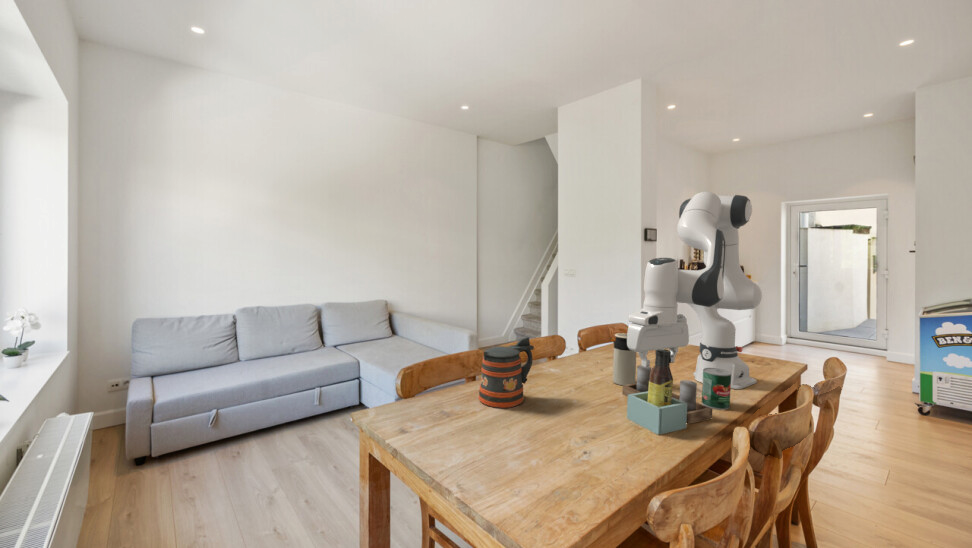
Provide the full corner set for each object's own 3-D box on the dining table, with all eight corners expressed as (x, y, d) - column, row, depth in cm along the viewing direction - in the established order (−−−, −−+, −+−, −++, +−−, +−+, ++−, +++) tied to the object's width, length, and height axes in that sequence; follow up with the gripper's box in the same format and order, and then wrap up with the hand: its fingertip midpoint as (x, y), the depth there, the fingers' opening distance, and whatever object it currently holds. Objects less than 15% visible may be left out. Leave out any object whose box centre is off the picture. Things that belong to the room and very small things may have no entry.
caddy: (653, 412, 121) (654, 390, 121) (686, 428, 111) (687, 403, 110) (626, 418, 117) (627, 394, 117) (658, 434, 106) (659, 409, 106)
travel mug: (612, 385, 146) (614, 336, 145) (612, 378, 154) (614, 332, 153) (635, 387, 144) (637, 338, 143) (634, 380, 152) (636, 333, 151)
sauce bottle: (666, 425, 110) (672, 354, 109) (643, 419, 114) (648, 349, 113) (672, 418, 115) (677, 350, 114) (649, 412, 119) (654, 346, 118)
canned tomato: (724, 411, 123) (725, 376, 122) (697, 404, 129) (698, 370, 128) (733, 405, 128) (735, 371, 127) (707, 398, 134) (709, 366, 133)
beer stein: (516, 387, 143) (517, 331, 142) (543, 400, 130) (544, 339, 129) (470, 397, 133) (471, 337, 131) (494, 412, 120) (495, 346, 119)
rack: (644, 390, 141) (645, 362, 141) (712, 418, 117) (713, 385, 117) (622, 393, 137) (623, 365, 137) (687, 424, 113) (689, 389, 113)
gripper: (677, 312, 119) (675, 357, 120) (623, 316, 111) (622, 364, 112) (695, 315, 113) (693, 363, 114) (641, 319, 105) (639, 371, 106)
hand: (657, 364), depth 113 cm, fingers open, 8 cm apart
